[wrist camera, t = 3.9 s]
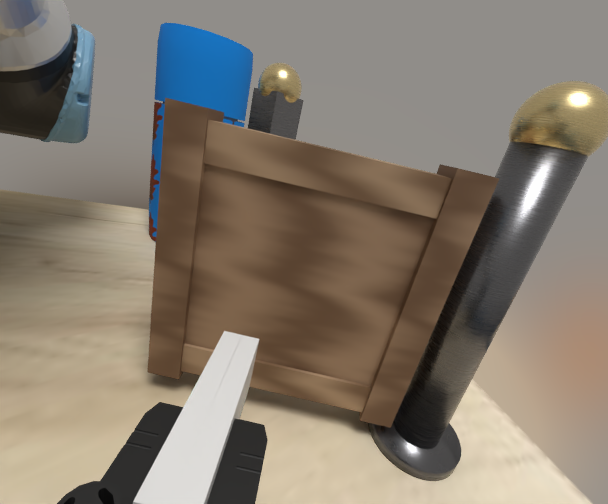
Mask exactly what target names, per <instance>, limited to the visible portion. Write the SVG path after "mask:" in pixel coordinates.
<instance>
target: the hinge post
mask: <svg viewBox="0 0 608 504" xmlns="http://www.w3.org/2000/svg"><path fill="white" fill-rule="evenodd" d="M607 137H608V95H607V94H606V93H605V92H604V91H603V90H602V89H600V88H599V87H597V86H595V85H593V84H590V83H586V82H580V81H569V82H561V83H557V84H553V85H551V86H548V87H546V88H544V89H542V90H540V91H538V92H537V93H535V94H534V95H532V96H531V97H530V98H528V99H527V100H526V101H525V102H524V103H523V104H522V105H521V107H520V108H519V109H518V111H517V112H516V114H515V116H514V118H513V120H512V122H511V126H510V130H509V141H510V143H509V146H508V148H507V150H506V153H505V155H504V157H503V160H502V162H501V164H500V167H499V169H498V171H497V174H496V176H495V178H499V181H498V183H497V186H496V188H495V190H494V192H493V195H492V197H491V199H490V202H489V204H488V206H487V208H486V211H485V213H484V215H483V218H482V220H481V222H480V224H479V227H478V229H477V231H476V234H475V236H474V238H473V240H472V243H471V245H470V247H469V250H468V252H467V254H466V256H465V259H464V261H463V263H462V266H461V268H460V270H459V272H458V275H457V277H456V279H455V282H454V284H453V286H452V288H451V291H450V293H449V295H448V298H447V300H446V302H445V304H444V307H443V309H442V311H441V314H440V316H439V318H438V320H437V323H436V325H435V327H434V330H433V332H432V334H431V336H430V339H429V341H428V343H427V346H426V348H425V350H424V352H423V355H422V357H421V359H420V361H419V364H418V366H417V368H416V371H415V373H414V375H413V377H412V380H411V382H410V384H409V387H408V389H407V391H406V393H405V396H404V398H403V400H402V403H401V405H400V407H399V409H398V412H397V414H396V416H395V419H394V421H393V423H392V425H391V428H390V427H385V426H381V425H377V424H372V423H369V428H370V432H371V435H372V437H373V439H374V441H375V443H376V444H377V446H378V448H379V449H380V450H381V452H382V453H383V454H384V455H385V456H386V457H387V458H388V459H389V460H390V461H391V462H392V463H393V464H394V465H396V466H397V467H398V468H400V469H401V470H403V471H404V472H406V473H408V474H410V475H412V476H414V477H417V478H420V479H424V480H430V481H437V480H442V479H445V478H447V477H448V476H450V475H451V474H452V473H453V471H454V469H455V467H456V466H457V464H458V462H459V460H460V457H461V446H460V442H459V439H458V437H457V435H456V433H455V431H454V429H453V428H452V426H451V425H450V424H449V422H450V420H451V418H452V416H453V414H454V412H455V410H456V409H457V407H458V405H459V403H460V401H461V399H462V397H463V395H464V393H465V391H466V389H467V387H468V386H469V384H470V382H471V380H472V378H473V376H474V374H475V372H476V370H477V368H478V366H479V364H480V363H481V361H482V359H483V357H484V355H485V353H486V351H487V349H488V347H489V345H490V343H491V342H492V339H493V338H494V336H495V334H496V332H497V330H498V328H499V326H500V324H501V322H502V321H503V319H504V317H505V315H506V313H507V311H508V309H509V307H510V305H511V303H512V301H513V299H514V297H515V296H516V294H517V292H518V290H519V288H520V286H521V284H522V282H523V280H524V278H525V276H526V274H527V273H528V271H529V269H530V267H531V265H532V263H533V261H534V259H535V257H536V255H537V254H538V252H539V250H540V248H541V246H542V244H543V242H544V240H545V238H546V236H547V234H548V232H549V231H550V229H551V227H552V225H553V223H554V221H555V219H556V217H557V215H558V213H559V211H560V210H561V208H562V206H563V204H564V202H565V200H566V198H567V196H568V194H569V192H570V190H571V188H572V187H573V185H574V183H575V181H576V179H577V177H578V175H579V173H580V171H581V169H582V167H583V166H584V164H585V162H586V160H587V158H588V156H590V155H591V154H592V153H594V152H595V151H596V150H597V149H598V148H599V147H600V146H601V145H602V144H603V143H604V141H605V140H606V138H607Z"/></svg>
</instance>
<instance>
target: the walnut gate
mask: <svg viewBox="0 0 608 504" xmlns="http://www.w3.org/2000/svg"><path fill="white" fill-rule="evenodd" d="M223 118H224V112H221V111H217V110H214V109H210V108H206V107H202V106H198V105H194V104H190V103H185V102H181V101H177V100H173V99H169V98H165V109H164V125H163V140H162V156H161V172H160V187H159V203H158V219H157V234H156V250H155V266H154V281H153V297H152V313H151V328H150V344H149V360H148V372H149V373H153V374H158V375H162V376H167V377H171V378H175V379H179V378H180V376H181V375H182V373H183V372H188V373H192V374H197V375H201V374H202V372H203V370H204V368H205V366H206V364H207V362H208V361H209V359H210V357H211V355H212V353H213V351H214V349H215V348H216V346H217V344H218V342H219V340H220V338H221V336H222V334H223V333H224V331H227V332H232V333H236V334H240V335H244V336H249V337H253V338H257V339H259V344H258V348H257V353H256V358H255V363H254V367H253V372H252V377H251V382H250V386H249V387H253V388H258V389H262V390H266V391H271V392H275V393H280V394H284V395H288V396H293V397H297V398H301V399H306V400H310V401H315V402H319V403H323V404H328V405H332V406H336V407H341V408H345V409H349V410H354V411H358V412H359V416H360V421H364V422H368V423H372V424H377V425H381V426H385V427H390V428H391V425H392V423H393V421H394V419H395V416H396V414H397V412H398V409H399V407H400V405H401V403H402V400H403V398H404V396H405V393H406V391H407V389H408V387H409V384H410V382H411V380H412V377H413V375H414V373H415V371H416V368H417V366H418V364H419V361H420V359H421V357H422V355H423V352H424V350H425V348H426V346H427V343H428V341H429V339H430V336H431V334H432V332H433V330H434V327H435V325H436V323H437V320H438V318H439V316H440V314H441V311H442V309H443V307H444V304H445V302H446V300H447V298H448V295H449V293H450V291H451V288H452V286H453V284H454V282H455V279H456V277H457V275H458V272H459V270H460V268H461V266H462V263H463V261H464V259H465V256H466V254H467V252H468V250H469V247H470V245H471V243H472V240H473V238H474V236H475V234H476V231H477V229H478V227H479V224H480V222H481V220H482V218H483V215H484V213H485V211H486V208H487V206H488V204H489V202H490V199H491V197H492V195H493V192H494V190H495V188H496V186H497V183H498V181H499V178H495V177H491V176H487V175H483V174H479V173H475V172H471V171H466V170H462V169H458V168H453V167H449V166H444V165H440V166H439V169H438V172H437V174H435V173H430V172H426V171H422V170H418V169H414V168H409V167H405V166H401V165H397V164H393V163H389V162H385V161H381V160H376V159H372V158H368V157H364V156H360V155H356V154H352V153H347V152H343V151H339V150H335V149H331V148H327V147H323V146H319V145H314V144H310V143H306V142H302V141H298V140H294V139H290V138H286V137H281V136H277V135H273V134H269V133H265V132H261V131H257V130H252V129H248V128H244V127H240V126H236V125H232V124H228V123H223Z"/></svg>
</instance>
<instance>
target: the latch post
mask: <svg viewBox="0 0 608 504" xmlns="http://www.w3.org/2000/svg"><path fill="white" fill-rule="evenodd" d="M258 88H259V89H257V88H254V92H253V98H252V105H251V111H250V118H249V125H248V129H252V130H257V131H261V132H265V133H269V134H273V135H277V136H281V137H286V138H290V139H294V140H295V139H296V134H297V129H298V124H299V119H300V114H301V109H302V104H303V100H301V99H299V98H300V95H301V81H300V78H299V76H298V74H297V72H296V71H295V70H294V69H293V68H292V67H290V66H289V65H287V64H284V63H275V64H272V65H270V66H268V67H267V68H266V69H265V70H264V71H263V72H262V74H261V76H260V79H259V84H258Z"/></svg>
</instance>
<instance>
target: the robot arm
mask: <svg viewBox="0 0 608 504" xmlns="http://www.w3.org/2000/svg"><path fill="white" fill-rule="evenodd" d="M94 54H95V40H94V36H93V35H92V34H91V33H90V32H89V31H87V30H85V29H82V27H81V26H79V25H76V24H72V25H71V20H70V16H69V13H68V10H67V8H66V6H65V4H64V2H63V1H62V0H0V133H5V134H11V135H17V136H23V137H29V138H34V139H40V140H41V141H44V142H50V141H57V142H66V143H79V142H81V141H83V140H84V139H85V138H86V136H87V134H88V127H89V117H90V106H91V94H92V82H93V81H92V80H93V67H94ZM258 344H259V339H257V338H253V337H249V336H244V335H240V334H236V333H232V332H227V331H224V333H223V334H222V336H221V338H220V340H219V342H218V344H217V346H216V348H215V349H214V351H213V353H212V355H211V357H210V359H209V361H208V362H207V364H206V366H205V368H204V370H203V372H202V374H201V376H200V377H199V379H198V381H197V383H196V385H195V387H194V389H193V391H192V392H191V394H190V396H189V398H188V400H187V402H186V404H185V406H184V407H179V406H175V405H170V404H166V403H162V402H159V403H158V404H157V405H155V406H154V407H153V408H152V409H150V410H149V411H148V412H146V413H145V415H144V416H143V418H142V419H141V421H140V422H139V424H138V425H137V427H136V428H135V431H134V432H133V433H132V434H131V436H130V437H129V439H128V440H127V442H126V444H125V445H124V446H123V448H122V449H121V451H120V452H119V454H118V455H117V457H116V458H115V460H114V461H113V463H112V464H111V466H110V467H109V469H108V470H107V472H106V473H105V475H104V476H103V478H102V479H101V481H93V482H90V483H87V484H84V485H80V486H78V487H77V488H75V489H74V490H72V491H71V492H69V493H67V494H66V495H65V496H64V497H63V498H62V499H61V500H60V501H59V502H58V503H57V504H255V501H256V496H257V491H258V486H259V481H260V475H261V470H262V465H263V460H264V455H265V450H266V445H267V436H266V432H265V427H264V425H262V424H257V423H253V422H249V421H244V420H240V416H241V413H242V410H243V406H244V403H245V400H246V397H247V394H248V390H249V386H250V382H251V377H252V372H253V367H254V363H255V358H256V353H257V348H258Z"/></svg>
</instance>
